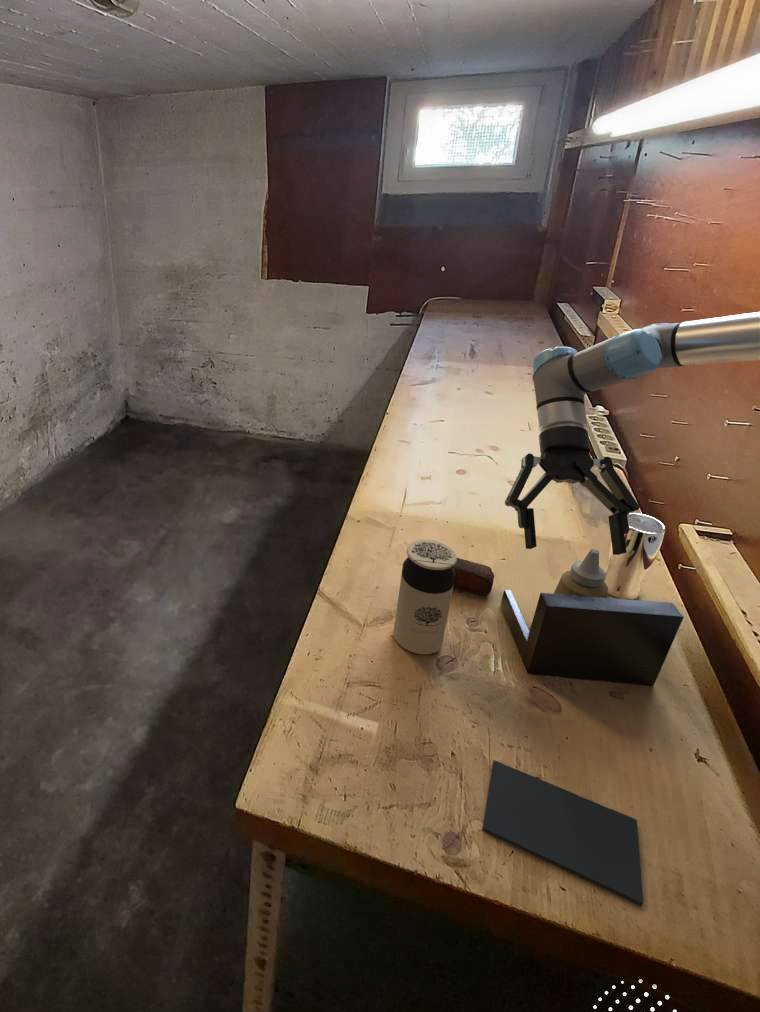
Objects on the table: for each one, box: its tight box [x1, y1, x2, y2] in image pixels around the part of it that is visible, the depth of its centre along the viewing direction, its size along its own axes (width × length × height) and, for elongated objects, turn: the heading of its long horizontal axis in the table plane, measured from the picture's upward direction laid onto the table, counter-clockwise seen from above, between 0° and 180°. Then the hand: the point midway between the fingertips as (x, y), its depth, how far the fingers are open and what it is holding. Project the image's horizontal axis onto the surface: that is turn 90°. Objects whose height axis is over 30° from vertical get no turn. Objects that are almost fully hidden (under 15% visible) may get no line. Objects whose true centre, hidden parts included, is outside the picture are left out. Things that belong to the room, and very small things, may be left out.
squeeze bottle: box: [553, 548, 608, 598], centre depth 91 cm, size 8×8×18 cm
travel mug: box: [393, 539, 458, 655], centre depth 92 cm, size 8×8×18 cm
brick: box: [453, 557, 495, 597], centre depth 107 cm, size 11×4×5 cm, turn 61°
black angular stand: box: [499, 589, 684, 687], centre depth 91 cm, size 16×18×14 cm
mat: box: [481, 759, 644, 907], centre depth 68 cm, size 16×10×1 cm, turn 60°
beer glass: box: [604, 512, 667, 600], centre depth 102 cm, size 7×7×15 cm
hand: (574, 550), depth 93 cm, fingers open, 13 cm apart
